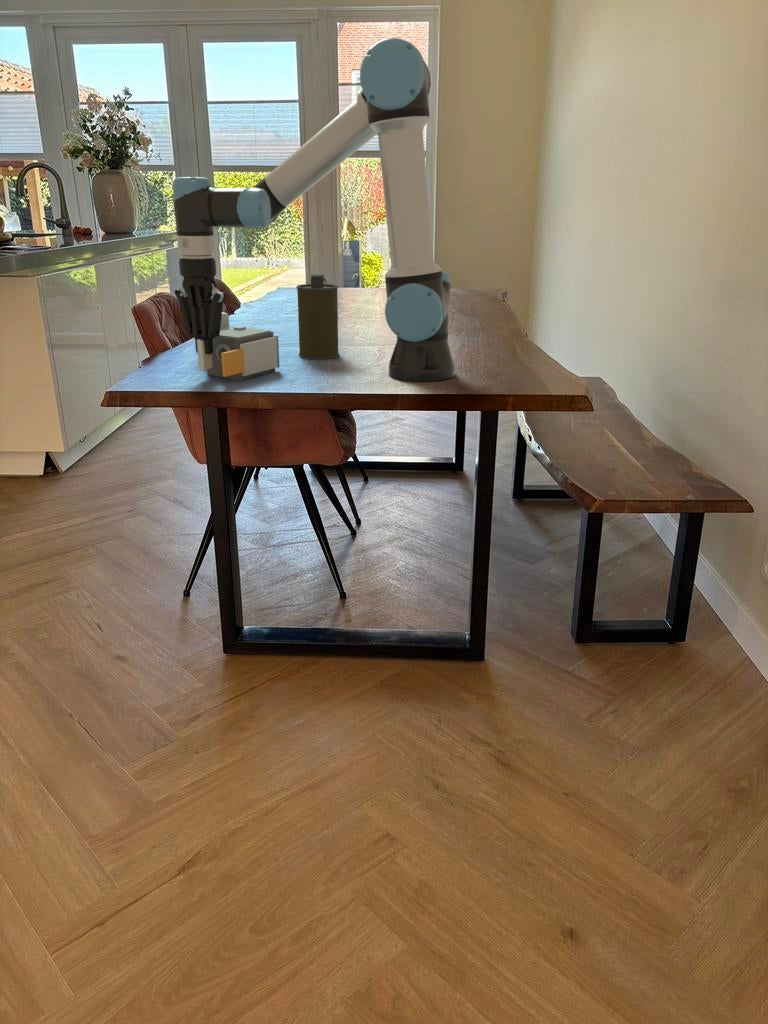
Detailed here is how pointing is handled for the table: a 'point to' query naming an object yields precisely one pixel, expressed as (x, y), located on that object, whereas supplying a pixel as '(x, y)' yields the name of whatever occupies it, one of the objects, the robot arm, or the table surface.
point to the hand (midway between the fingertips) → (206, 368)
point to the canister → (318, 319)
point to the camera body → (235, 348)
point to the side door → (251, 357)
